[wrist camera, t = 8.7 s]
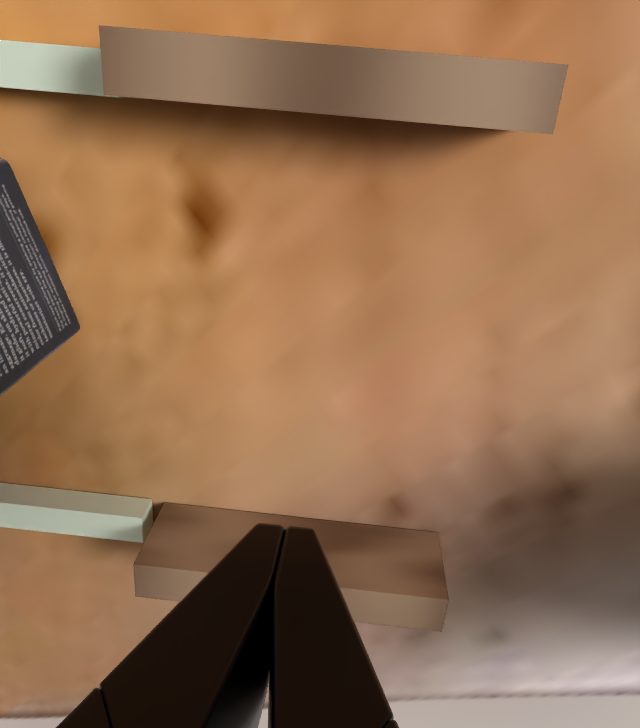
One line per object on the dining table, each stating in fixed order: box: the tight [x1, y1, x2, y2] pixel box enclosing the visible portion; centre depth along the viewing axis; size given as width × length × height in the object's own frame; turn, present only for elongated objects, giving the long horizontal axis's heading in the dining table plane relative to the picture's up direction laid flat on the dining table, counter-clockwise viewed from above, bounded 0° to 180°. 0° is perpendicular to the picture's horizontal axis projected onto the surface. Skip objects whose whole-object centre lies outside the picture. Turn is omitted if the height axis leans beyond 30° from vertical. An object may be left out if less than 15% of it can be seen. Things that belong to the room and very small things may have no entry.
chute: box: [99, 25, 568, 632], centre depth 19 cm, size 11×18×4 cm, turn 176°
